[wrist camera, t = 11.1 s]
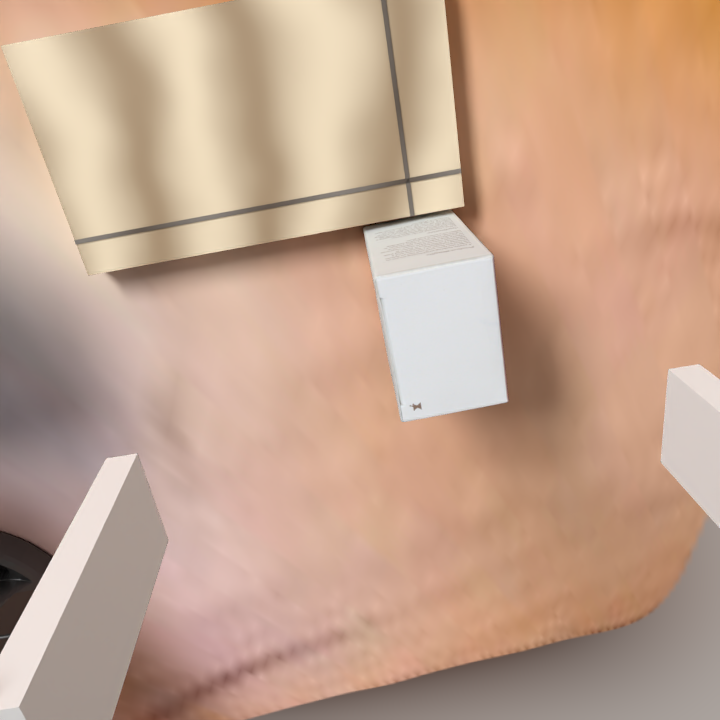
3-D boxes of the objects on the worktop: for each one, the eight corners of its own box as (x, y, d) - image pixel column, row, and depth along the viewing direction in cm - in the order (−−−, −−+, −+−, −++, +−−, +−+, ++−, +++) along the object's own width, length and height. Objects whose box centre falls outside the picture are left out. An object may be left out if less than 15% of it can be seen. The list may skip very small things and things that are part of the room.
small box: (467, 327, 40) (511, 407, 31) (383, 343, 40) (401, 427, 31) (452, 205, 37) (497, 253, 27) (360, 223, 37) (373, 277, 27)
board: (98, 266, 37) (87, 276, 35) (17, 47, 32) (0, 45, 30) (458, 200, 37) (464, 206, 35) (434, -35, 31) (440, -40, 30)
